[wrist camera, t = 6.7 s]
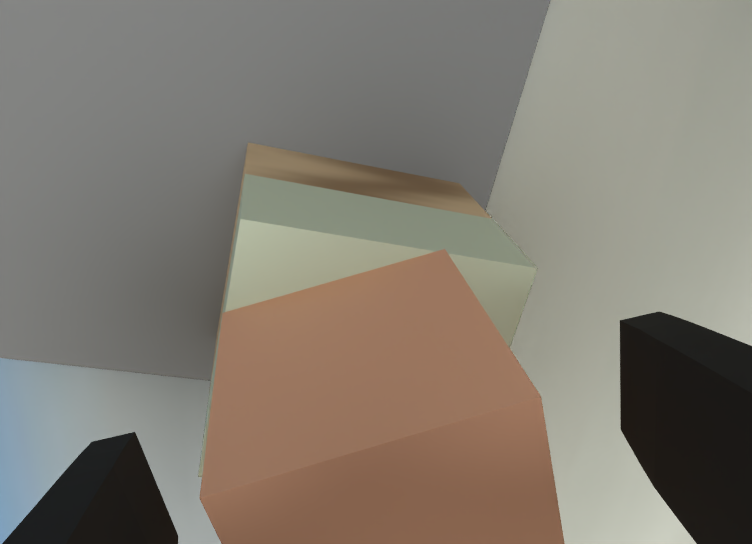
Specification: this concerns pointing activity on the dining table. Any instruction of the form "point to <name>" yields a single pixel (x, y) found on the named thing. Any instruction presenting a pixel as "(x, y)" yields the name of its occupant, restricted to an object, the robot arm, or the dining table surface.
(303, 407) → the terracotta block
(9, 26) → the slate mat
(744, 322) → the dining table surface
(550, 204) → the dining table surface
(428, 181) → the oak tower base block
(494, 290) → the sage tower top block
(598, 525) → the dining table surface
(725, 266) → the dining table surface
